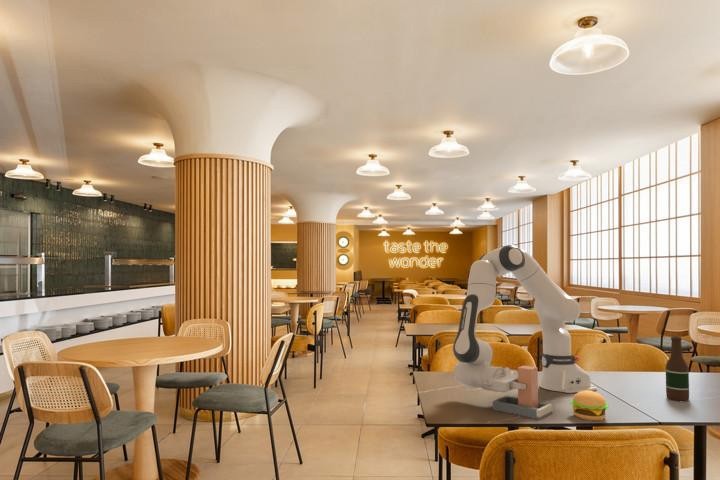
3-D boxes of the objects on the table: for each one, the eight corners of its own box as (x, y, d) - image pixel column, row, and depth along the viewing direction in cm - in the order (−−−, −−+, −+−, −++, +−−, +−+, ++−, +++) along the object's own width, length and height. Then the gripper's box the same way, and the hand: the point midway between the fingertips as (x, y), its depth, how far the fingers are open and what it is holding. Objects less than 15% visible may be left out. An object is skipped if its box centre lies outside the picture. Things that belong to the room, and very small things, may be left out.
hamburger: (613, 416, 177) (612, 390, 178) (603, 424, 168) (602, 397, 169) (577, 409, 185) (576, 385, 186) (565, 417, 176) (565, 391, 176)
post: (518, 407, 182) (517, 367, 182) (524, 404, 185) (524, 365, 186) (531, 410, 178) (531, 369, 179) (538, 407, 182) (537, 367, 182)
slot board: (492, 409, 185) (492, 401, 185) (506, 403, 193) (506, 395, 193) (540, 419, 173) (539, 410, 173) (552, 412, 181) (552, 404, 181)
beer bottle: (686, 397, 202) (685, 335, 203) (692, 402, 195) (690, 338, 196) (664, 395, 205) (662, 334, 206) (668, 400, 197) (667, 337, 198)
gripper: (480, 374, 183) (516, 380, 174) (507, 366, 198) (542, 371, 189) (480, 392, 183) (517, 399, 174) (507, 382, 198) (542, 388, 189)
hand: (530, 384), depth 181 cm, fingers closed on post, 5 cm apart
